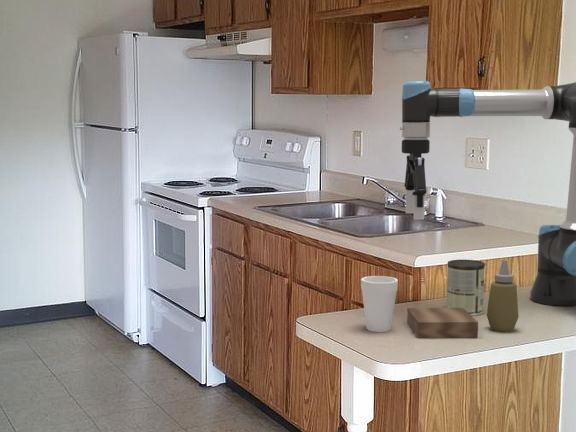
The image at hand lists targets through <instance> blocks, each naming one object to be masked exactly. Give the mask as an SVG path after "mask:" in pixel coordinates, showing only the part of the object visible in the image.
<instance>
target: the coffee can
mask: <svg viewBox="0 0 576 432" xmlns="http://www.w3.org/2000/svg"><path fill="white" fill-rule="evenodd" d="M446 264H447V280H446V281H447V286H446V288H447V289H446V290H447V291H446V292H447V293H446V294H447V295H446V308H464V309H465V310H466V311H467V312H468V313H469V314H470V315H471V316H472V317H473V316H475V317H476V316H480V315H482V314H483V313H484V296H485V295H484V292H485V291H484V289H485V288H484V287H485V267H486V263H485V262H484V261H481V260H476V259H475V260H474V259H451V260H449V261H447V263H446Z"/></svg>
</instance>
